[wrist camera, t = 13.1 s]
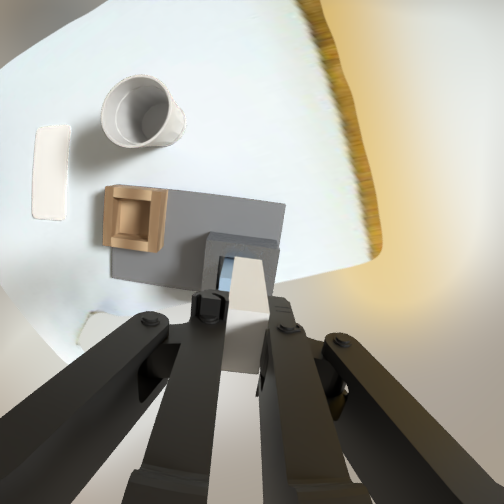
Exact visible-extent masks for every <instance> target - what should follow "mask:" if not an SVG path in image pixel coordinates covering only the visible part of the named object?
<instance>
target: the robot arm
mask: <svg viewBox="0 0 504 504" xmlns="http://www.w3.org/2000/svg"><path fill="white" fill-rule="evenodd" d="M259 368H260V376H259V381H258V386H257V391H256V397H258V396H259V408H260V409H259V410H260V431H261V457H262V480H263V504H372V501H371V497H372V499H373V500H374V502H375V503H376V504H504V487H503V486H501V485H499V484H497V483H496V482H495V481H494V480H493V479H492V478H491V477H490V476H489V475H488V474H487V473H486V472H485V471H484V470H483V469H482V468H481V466H480V465H479V464H478V463H477V462H476V461H475V460H474V459H473V458H472V457H471V456H470V455H469V454H468V453H467V452H466V451H465V450H464V449H463V448H462V447H461V446H460V445H459V444H458V442H457V441H456V440H455V439H454V438H453V437H452V436H451V435H450V434H449V433H448V432H447V431H446V430H445V429H444V428H443V427H442V426H441V425H440V424H439V423H438V422H437V421H436V420H435V419H434V418H433V417H432V416H431V415H430V414H429V413H428V412H427V411H426V410H425V409H424V408H423V407H422V405H421V404H420V403H419V402H417V400H416V399H415V398H414V397H413V396H412V395H411V394H410V393H409V392H408V391H407V390H406V389H405V388H404V387H403V386H402V385H401V384H400V383H399V382H398V381H397V380H396V379H395V378H394V377H393V376H392V375H391V374H390V373H389V372H388V371H387V370H386V369H385V368H384V367H383V366H382V365H381V364H380V363H379V362H378V361H377V360H376V359H375V358H374V357H373V356H372V355H371V354H370V353H369V352H368V351H367V350H366V349H365V348H364V347H363V346H362V345H361V344H360V343H359V342H358V341H357V340H356V339H355V338H353V337H351V336H349V335H348V334H343V333H330V334H328V335H326V337H325V340H324V342H322V341H317V340H314V339H311V338H308V337H307V336H306V333H305V331H304V329H303V327H302V326H300V325H299V324H298V323H296V322H295V319H294V315H293V312H292V309H291V305H290V302H288V301H287V300H286V299H285V298H282V297H275V296H267V291H266V284H265V277H264V271H263V264H262V260H258V259H250V258H243V257H235V258H234V265H233V271H232V278H231V285H230V292H228V291H220V290H213V289H208V290H206V291H201V292H197V293H194V294H193V295H192V304H191V317H190V320H189V322H187V323H183V324H173V325H171V324H169V319H168V318H167V317H166V316H165V315H163V314H160V313H157V312H154V311H146V312H142V313H138V314H136V315H134V316H133V317H132V318H130V319H129V320H128V321H126V322H125V323H124V324H122V325H121V326H120V327H118V328H117V329H116V330H114V331H113V332H112V333H110V334H109V335H108V336H106V337H105V338H104V339H102V340H101V341H100V342H98V343H97V344H96V345H95V346H93V347H92V348H90V349H89V350H88V351H87V352H85V353H84V354H82V355H81V356H80V357H79V358H77V359H76V360H75V361H73V362H72V363H71V364H69V365H68V366H67V367H66V368H64V369H63V370H62V371H60V372H59V373H58V374H56V375H55V376H54V377H53V378H51V379H50V380H49V381H47V382H46V383H45V384H43V385H42V386H41V387H40V388H38V389H37V390H36V391H34V392H33V393H32V394H30V395H29V396H28V397H27V398H25V399H24V400H23V401H22V402H20V403H19V404H18V405H16V406H15V407H14V408H13V409H11V410H10V411H9V412H8V413H6V414H5V415H4V416H2V418H0V504H71V503H72V501H73V500H74V499H75V498H76V496H77V495H78V494H79V493H80V491H81V490H82V489H83V488H84V487H85V486H86V484H87V483H88V482H89V481H90V479H91V478H92V477H93V476H94V474H95V473H96V472H97V471H98V470H99V468H100V467H101V466H102V465H103V463H104V462H105V461H106V460H107V458H108V457H109V456H110V455H111V453H112V452H113V451H114V450H115V449H116V447H117V446H118V445H119V443H120V442H121V441H122V440H123V439H124V437H125V436H126V435H127V434H128V432H129V431H130V430H131V429H132V427H133V426H134V425H135V424H136V422H137V421H138V420H139V419H140V417H141V416H142V415H143V413H144V412H145V411H146V410H147V408H148V407H149V406H150V405H151V403H152V402H153V401H154V400H155V398H156V397H157V396H158V395H159V393H160V392H161V391H162V389H163V388H164V387H165V386H166V384H167V386H166V389H165V392H164V396H163V398H162V401H161V404H160V408H159V411H158V414H157V417H156V420H155V423H154V426H153V429H152V432H151V436H150V439H149V442H148V445H147V448H146V452H145V455H144V459H143V462H142V465H141V467H140V469H139V470H136V469H135V470H134V471H133V472H132V473H131V476H130V478H129V481H128V484H127V487H126V490H125V493H124V497H123V500H122V503H121V504H207V496H208V486H209V476H210V466H211V456H212V447H213V437H214V428H215V419H216V410H217V400H218V392H219V383H220V375H221V370H222V371H230V372H239V373H248V374H258V373H259ZM168 378H169V380H168ZM167 382H168V383H167ZM346 384H347V386H348V390H349V393H347V391H346V390H345V389H344V388H345V386H346ZM343 453H344V455H345V457H346V458H347V460H348V461H349V463H350V464H351V466H352V468H353V469H354V471H355V472H356V474H357V475H358V477H359V479H360V480H361V482H362V483H363V484H362V483H353V482H352V481H351V479H350V476H349V473H348V470H347V466H346V463H345V459H344V456H343ZM370 496H371V497H370Z"/></svg>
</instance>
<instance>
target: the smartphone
mask: <svg viewBox="0 0 504 504" xmlns="http://www.w3.org/2000/svg"><path fill="white" fill-rule="evenodd" d="M70 134H71V127H70V126H69V125H59V126H47V127H40V128H38V130H37V132H36V140H35V151H34V164H33V183H32V215H33V217H34V218H36V219H48V220H64V219H65V218H66V201H67V170H68V156H69V145H70V143H69V142H70Z"/></svg>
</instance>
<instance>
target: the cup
mask: <svg viewBox="0 0 504 504" xmlns="http://www.w3.org/2000/svg"><path fill="white" fill-rule="evenodd" d="M101 124H102V128H103V130H104V132H105V134H106V136H107V137H108V138H109V139H110V140H111V141H112V142H113V143H115V144H117V145H119V146H121V147H125V148H137V147H147V146H161V147H165V146H169V145H172V144H174V143H176V142H177V141H178V140H179V139H180V138H181V137H182V135H183V134H184V132H185V129H186V117H185V114H184V112H183V111H182V109H181V108H180V107H178V105H177V104H176V102H175V101H174V99H173V97H172V95H171V94H170V92H169V91H168V89H167V87H166V86H165V85H164V84H163V83H162V82H161V81H160V80H159V79H157V78H155V77H153V76H149V75H134V76H130V77H128V78H125V79H123V80H122V81H120V82H119V83H117V84H116V85H115V86H114V87H113V88H112V89H111V90H110V92H109V93H108V94H107V96H106V98H105V100H104V102H103V105H102V109H101Z"/></svg>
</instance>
